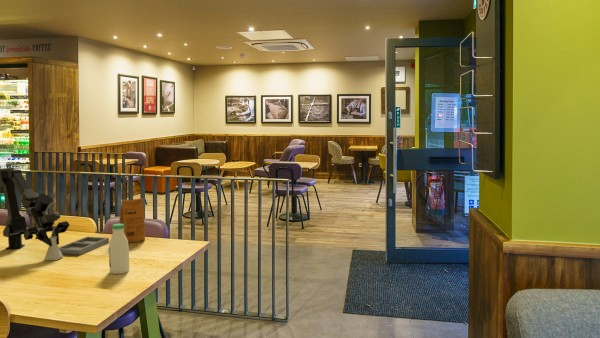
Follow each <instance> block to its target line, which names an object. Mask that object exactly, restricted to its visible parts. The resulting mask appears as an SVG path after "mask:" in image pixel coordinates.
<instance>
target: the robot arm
mask: <svg viewBox="0 0 600 338" xmlns="http://www.w3.org/2000/svg"><path fill="white" fill-rule="evenodd" d="M0 186H1V187H2V189H3V194H4V200H5V205H6V206H5V207H6V210H7V215H8V216H7V218H6V220H5V227H4V228H3V230H2V235H3V237H6V238H7V241H8V246H7V247H5V250H16V249H17V250H18V249H19V250H20V249H21V248H23V247H25V246H26V244H23V239H22V238H24V240H25V241H28V240H31V239H32V240H33V238H34V235H35V239H36V240H38V241H41V242H43V243H44V244H46V245H48V247H49V246H52V244H51V241H50V239H49V236H48V232H49V233H50V232H51V235H50V237H52V236H56V237H57V238H56V241H57V245H58V246H59V245H60V238H59V237H60V235H59V234H63V233H65V232H66V231H68V228H69V227H70V223H69V221H67V220H64V221H59V222H58V223H57V225H55V222H56V221H58V220H59V219H61V214H60V213H59V211H54V212H52V213H50V214H47V211H48V209H49V208H50V206H51V205H52V203H53V202H54V201H53V198H52V197H51V196H50V195H48V194H45V192H41V193H38V192H36V191H34V190H33V189H32V188H31V187H30V185H29V183H28V182H27V180H26V179H25V177H24V175H23V172H22V170H21V169H15V168H14V167H6V168H5V167H4V168H0ZM16 189H17V191H18V193H19V194H20V196H21V198H20V202H21V205H22V207H23V208H24V209H30V210H29V213H28V217H31V218H32V219H33V221H34V226H32V227H28V224H27V221H26V216H25V215H22V214H21V213H20V208H19V203H18V199H17V193H16ZM22 235H23V237H22Z"/></svg>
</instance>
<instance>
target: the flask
mask: <svg viewBox="0 0 600 338" xmlns="http://www.w3.org/2000/svg"><path fill="white" fill-rule="evenodd" d="M48 238H49V239H50V241H51V244H52V246H49V245H48V248H47V251H46V254H45V257H44V261H57V260H61V259H63V258H64V254H62V253H61V252H60V250H59V247H60V246H59V245H57V241H56V238H57V237H56V236H52V237H51V236H48Z"/></svg>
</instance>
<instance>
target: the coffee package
mask: <svg viewBox="0 0 600 338" xmlns="http://www.w3.org/2000/svg"><path fill="white" fill-rule="evenodd" d="M118 224H124V234H125V236H126V238H127V240H128V244H129V243H138V242H143V241H145V240H146V227H145V225H146V224H145V210H144V200H143V198H142V197H141V198H136V199H121V206H120V212H119V223H118Z"/></svg>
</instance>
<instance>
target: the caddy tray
mask: <svg viewBox="0 0 600 338" xmlns="http://www.w3.org/2000/svg"><path fill="white" fill-rule="evenodd" d="M109 242H110V238H109V237H100V236H85V237H83V238H80V239H77V240H74V241H72V242H70V243H69V242H68V243H67V244H64V245H61V246H58V247H59V250H60V252H61V253H62V255H63V256H64V255H66V256H82V255H83V254H87V253H88V252H90V251H94V250H95V249H97V248H100V247H102V246H105V245H107V244H109Z"/></svg>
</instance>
